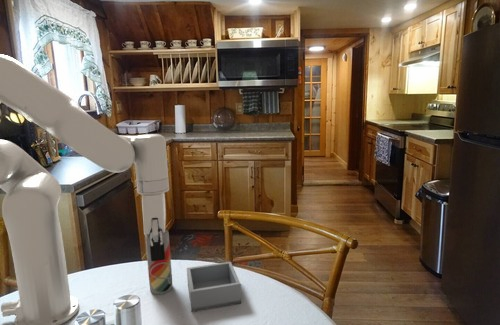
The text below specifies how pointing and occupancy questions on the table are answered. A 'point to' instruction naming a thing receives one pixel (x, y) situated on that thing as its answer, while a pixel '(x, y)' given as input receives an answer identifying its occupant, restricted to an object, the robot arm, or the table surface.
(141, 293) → the table surface
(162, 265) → the lotion bottle
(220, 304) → the box
